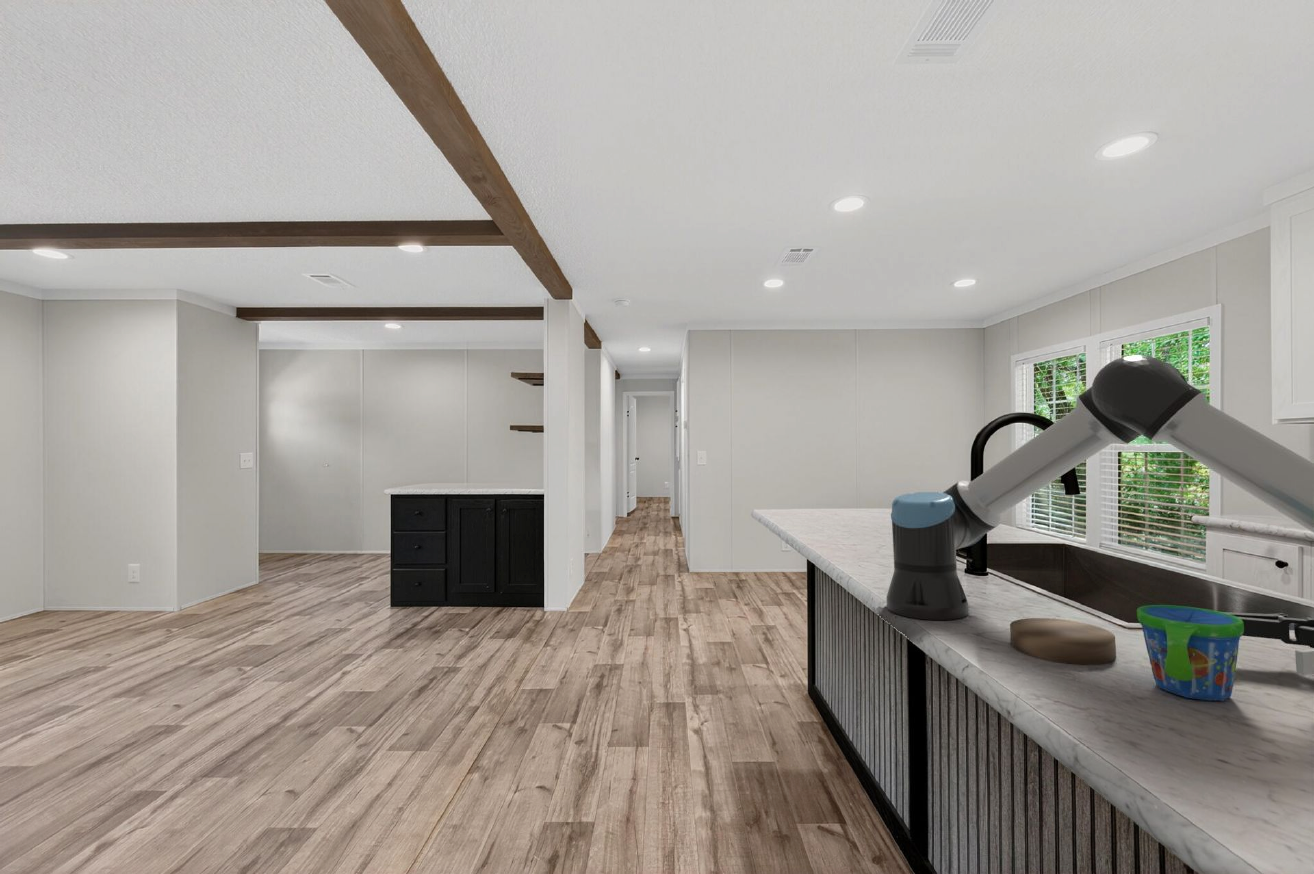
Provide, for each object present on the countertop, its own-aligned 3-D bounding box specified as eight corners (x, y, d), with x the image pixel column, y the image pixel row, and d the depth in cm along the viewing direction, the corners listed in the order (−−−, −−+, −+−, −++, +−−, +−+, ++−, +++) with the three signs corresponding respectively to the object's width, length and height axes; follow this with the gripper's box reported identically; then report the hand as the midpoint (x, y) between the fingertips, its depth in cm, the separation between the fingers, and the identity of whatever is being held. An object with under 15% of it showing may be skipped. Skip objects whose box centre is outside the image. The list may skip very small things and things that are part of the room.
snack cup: (1163, 666, 87) (1159, 596, 87) (1264, 689, 78) (1259, 611, 78) (1120, 693, 78) (1115, 615, 79) (1228, 722, 70) (1223, 634, 70)
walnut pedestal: (991, 638, 102) (990, 621, 102) (1064, 632, 104) (1064, 615, 104) (1057, 667, 88) (1056, 647, 88) (1140, 660, 90) (1139, 640, 90)
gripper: (1512, 696, 69) (1363, 714, 66) (1265, 633, 94) (1148, 643, 91) (1508, 632, 69) (1358, 646, 66) (1262, 585, 94) (1145, 594, 91)
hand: (1237, 644), depth 79 cm, fingers open, 13 cm apart
